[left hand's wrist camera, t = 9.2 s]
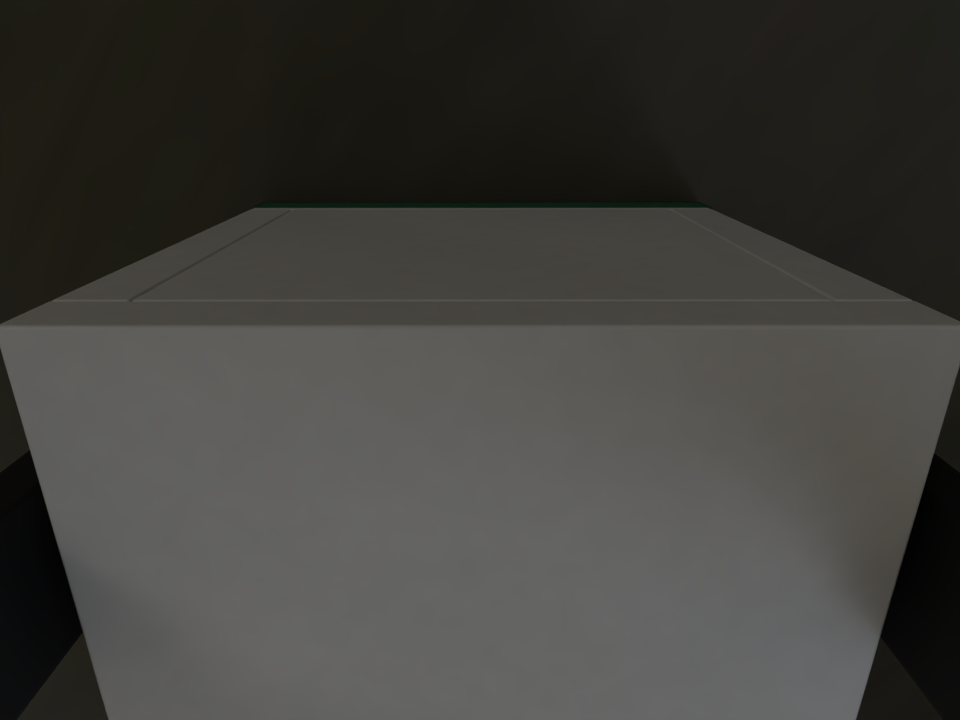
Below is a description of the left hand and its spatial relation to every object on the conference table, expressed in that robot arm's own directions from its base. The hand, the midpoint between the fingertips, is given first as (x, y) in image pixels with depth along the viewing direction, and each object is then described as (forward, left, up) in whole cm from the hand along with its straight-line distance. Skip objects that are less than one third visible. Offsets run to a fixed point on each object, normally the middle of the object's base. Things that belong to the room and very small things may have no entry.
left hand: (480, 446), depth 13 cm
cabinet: (+2, +5, -6) cm, 8 cm away
